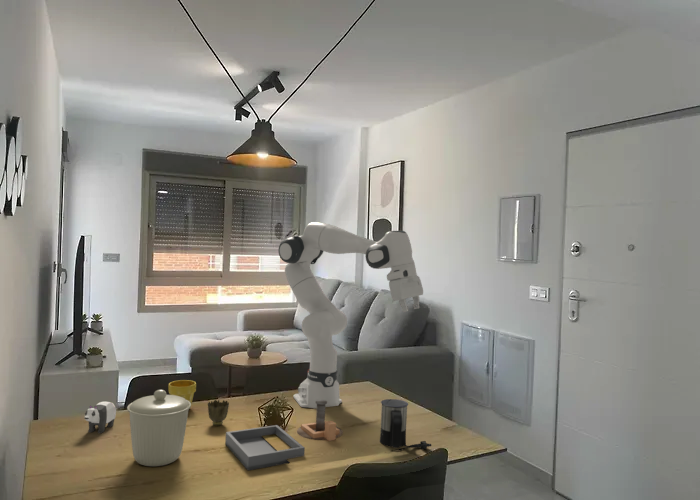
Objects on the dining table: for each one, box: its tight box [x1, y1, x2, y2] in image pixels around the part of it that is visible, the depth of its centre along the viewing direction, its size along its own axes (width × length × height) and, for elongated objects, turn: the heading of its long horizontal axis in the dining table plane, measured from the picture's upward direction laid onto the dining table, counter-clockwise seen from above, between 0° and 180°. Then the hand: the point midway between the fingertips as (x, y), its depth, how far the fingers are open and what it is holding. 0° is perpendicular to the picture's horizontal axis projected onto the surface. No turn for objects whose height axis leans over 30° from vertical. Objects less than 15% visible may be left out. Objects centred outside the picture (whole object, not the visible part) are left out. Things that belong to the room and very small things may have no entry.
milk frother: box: [379, 398, 432, 452], centre depth 181 cm, size 14×16×15 cm
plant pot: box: [168, 379, 197, 410], centre depth 212 cm, size 10×10×10 cm
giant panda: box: [83, 401, 117, 434], centre depth 184 cm, size 15×6×10 cm, turn 174°
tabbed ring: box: [300, 420, 340, 442], centre depth 187 cm, size 14×10×6 cm
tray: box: [225, 424, 305, 471], centre depth 172 cm, size 22×18×4 cm
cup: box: [207, 399, 230, 427], centre depth 195 cm, size 8×7×8 cm
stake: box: [296, 400, 344, 441], centre depth 189 cm, size 16×16×12 cm
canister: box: [126, 389, 192, 467], centre depth 163 cm, size 18×18×21 cm
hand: (411, 310), depth 199 cm, fingers open, 8 cm apart
